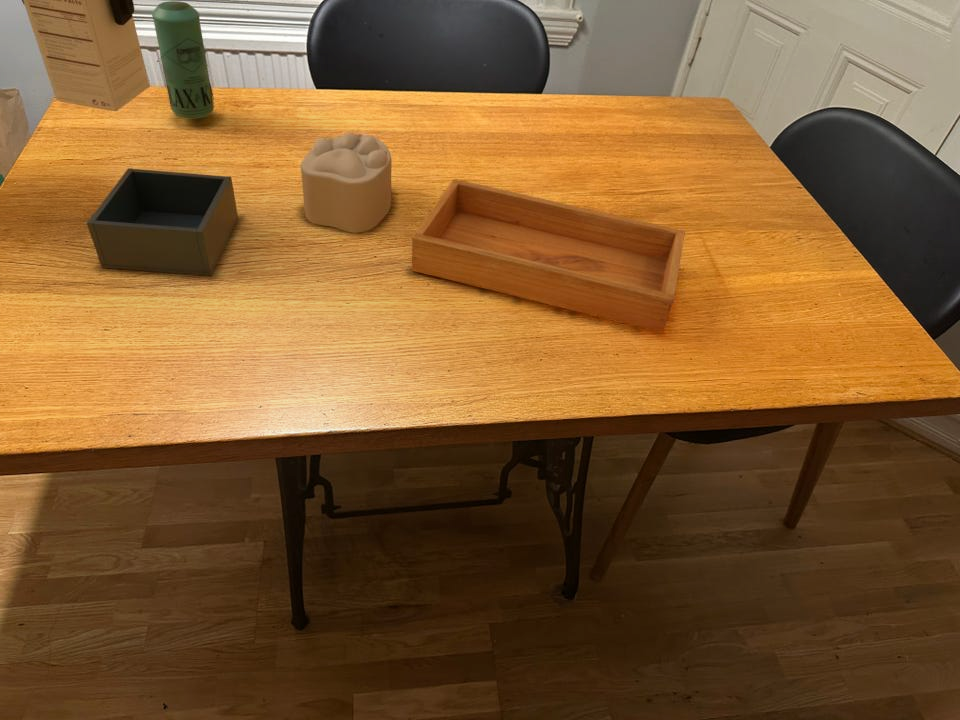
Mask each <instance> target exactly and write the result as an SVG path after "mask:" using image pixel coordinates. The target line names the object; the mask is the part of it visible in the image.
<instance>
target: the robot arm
mask: <svg viewBox="0 0 960 720" xmlns="http://www.w3.org/2000/svg"><path fill="white" fill-rule="evenodd" d="M21 2H22V4H23V5H24V6H25V4H24V2H23V0H21ZM110 4H111V8H112V12H113V15H114V19H115V23H117V24H118V25H124V24H126V23H127V22H128V21H129V20H130V19H131V18H132V15H133V14H134V13H135V4H134V0H110Z"/></svg>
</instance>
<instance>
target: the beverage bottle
mask: <svg viewBox="0 0 960 720" xmlns="http://www.w3.org/2000/svg"><path fill="white" fill-rule="evenodd" d="M151 18H152V20H153V24H154V29H155V34H156V39H157V45H158V49H159V56H160V58H159V61H160V62H161V67H162V73H163V74H162V75H163V79H164V82H165V83H164V85H165V87H166V89H165V91H166V92H167V97H168V99H167V100H168V101H169V106H170V107H169V108H170V109H171V111H172V113H173V114H174V115H175V116H176V117H179V118H182V119H191V120H194V119H202V118H205V117H209V116H210V115H212V114H213V112H214V109H215V106H216V105H215V103H214V101H215V98H214V93H213V92H214V91H213V87H212V83H211V81H212V80H211V79H210V76H211V75H210V72H209V71H210V70H209V64H208V62H209V61H208V60H207V55H206V52H207V50H206V46H205V45H204V39H203V32H202V25H201V20H200V13H199V11H198V10H197V9H196V8H194V7H193V6H192V5H191V4H189V3H188V2H184V1H180V0H168V1H163V2H161V3H158V5H157V6H156V7H155V8H154V9H153V11H152V12H151Z"/></svg>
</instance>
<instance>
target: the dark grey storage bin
mask: <svg viewBox="0 0 960 720" xmlns="http://www.w3.org/2000/svg"><path fill="white" fill-rule="evenodd" d="M238 220H239V215H238V209H237V202H236V197H235V191H234V185H233V180H232V176H227V175H214V174H204V173H203V174H201V173H190V172H178V171H177V172H176V171H165V170H153V169H141V168H127V169H126V171H124V173H123V174H122V176H121V177H120V179H118V180H117V183H116V184H115V185H114V186H113V188H112V189H111V191H109V193H108V194H107V195H106V196H105V198H104V199H103V201H102V202H101V203H100V205H99V206H98V207H97V209H96V210H95V212H93V214H92V215H91V216H90V218H89V219H88V221H87V222H86V225H87V229H88V231H89V234H90V238H91V240H92V244H93V247H94V249H95V252H96V255H97V258H98V261H99V264H100V267H101V268H102V269H114V270H115V269H116V270H127V271H128V270H129V271H143V272H155V273H166V274H167V273H170V274H180V275H181V274H184V275H196V276H210V277H211V276H212V275H213V273H214V271H215V269H216V267H217V265H218V263H219V260H220V259H221V256H222V254H223V252H224V250H225V247H226V246H227V243H228V241H229V239H230V237H231V235H232V233H233V230H234V229H235V227H236V225H237V222H238Z"/></svg>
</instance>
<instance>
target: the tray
mask: <svg viewBox="0 0 960 720" xmlns="http://www.w3.org/2000/svg"><path fill="white" fill-rule="evenodd" d="M685 235H686V231H685V230H682V229H679V228H674V227H669V226H665V225H660V224H657V223H652V222H647V221H642V220H638V219H634V218H629V217H625V216H620V215H616V214H611V213H607V212H603V211H598V210H594V209H589V208H584V207H580V206H577V205H571V204H567V203H563V202H558V201H554V200H549V199H545V198H541V197H535V196H531V195H528V194H523V193H519V192H514V191H509V190H505V189H502V188H498V187H492V186H488V185H483V184H480V183H475V182H470V181H465V180H463V179H456V178H453V179H452V180H451V182H450V183H449V184H448V186H447V187H446V188H445V190H444V192H443V193H442V194H441V195H440V197H439V198H438V200H436V203H435V204H434V206H433V207H432V208H431V210H430V211H429V212H428V214H427V215H426V217H425V218H424V220H423V221H422V222H421V224H420V226H419V227H418V228H417V229H416V231H415V232H414V233H413V235H412V239H411V240H412V241H411V245H412V246H411V269H412V270H411V271H413V272H415V273H420V274H425V275H428V276H433V277H437V278H440V279H445V280H449V281H452V282H457V283H461V284H465V285H469V286H473V287H477V288H482V289H486V290H490V291H494V292H498V293H502V294H506V295H510V296H514V297H517V298H521V299H524V300H525V299H526V300H529V301H535V302H538V303H541V304H546V305H550V306H553V307H559V308H562V309H566V310H570V311H573V312H574V311H575V312H578V313H583V314H587V315H590V316H594V317H598V318H602V319H606V320H610V321H613V322H614V321H615V322H619V323H623V324H627V325H631V326H635V327H638V328H643V329H646V330H650V331H654V332H658V333H663V332H664V329H665V327H666V324H667V321H668V319H669V315H670V312H671V309H672V306H673V303H674V300H675V294H676V288H677V284H678V283H677V282H678V277H679V271H680V265H681V259H682V254H683V253H682V252H683V247H684V240H685Z"/></svg>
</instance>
